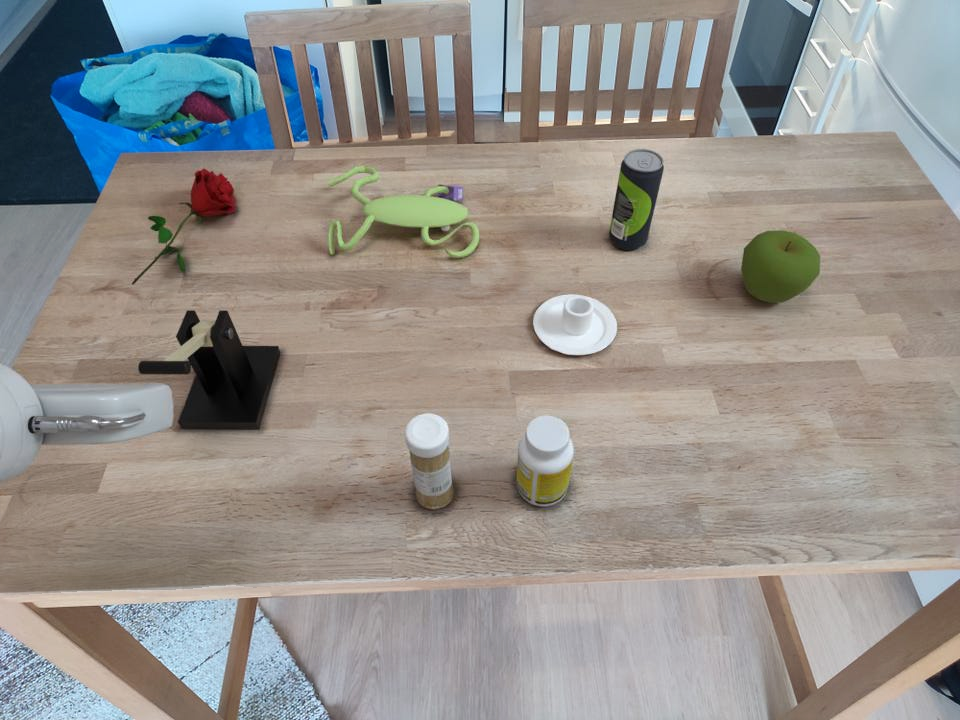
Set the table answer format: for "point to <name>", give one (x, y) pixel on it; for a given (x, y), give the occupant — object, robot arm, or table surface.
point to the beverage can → (635, 198)
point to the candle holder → (575, 324)
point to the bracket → (226, 378)
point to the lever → (181, 353)
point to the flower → (197, 208)
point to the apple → (779, 265)
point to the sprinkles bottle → (430, 460)
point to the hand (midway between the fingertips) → (88, 397)
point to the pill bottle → (544, 461)
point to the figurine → (407, 212)
